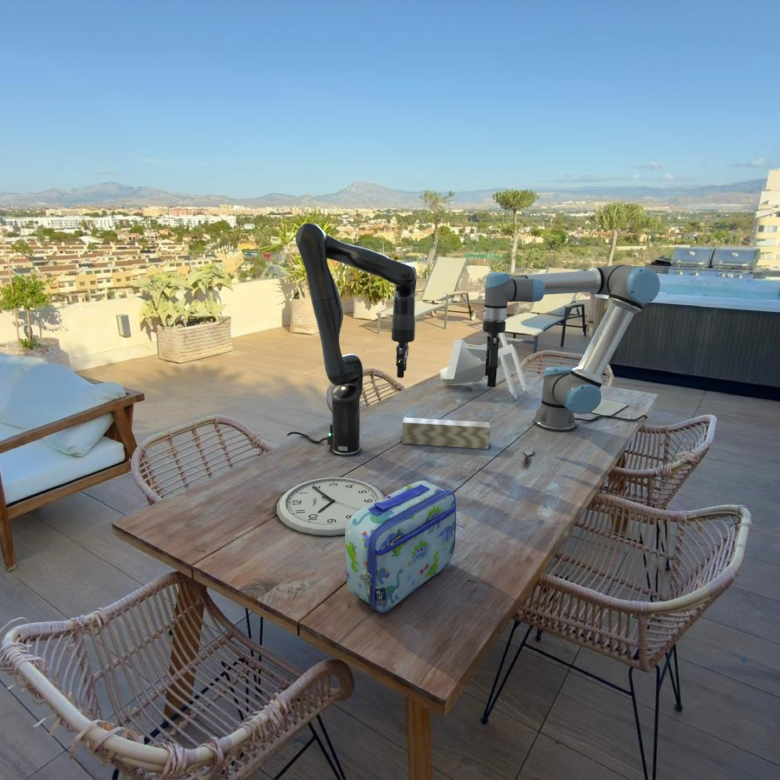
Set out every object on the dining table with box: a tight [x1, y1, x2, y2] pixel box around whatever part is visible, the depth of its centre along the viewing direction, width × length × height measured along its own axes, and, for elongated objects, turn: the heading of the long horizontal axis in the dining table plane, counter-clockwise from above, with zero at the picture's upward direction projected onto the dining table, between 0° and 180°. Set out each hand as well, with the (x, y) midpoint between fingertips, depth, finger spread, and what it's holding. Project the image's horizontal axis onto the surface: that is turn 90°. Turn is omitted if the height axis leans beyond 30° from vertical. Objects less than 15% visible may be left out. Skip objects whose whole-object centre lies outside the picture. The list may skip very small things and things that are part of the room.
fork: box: [523, 444, 534, 468], centre depth 173 cm, size 3×16×2 cm, turn 160°
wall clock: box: [276, 476, 386, 537], centre depth 142 cm, size 30×2×30 cm
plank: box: [401, 417, 491, 450], centre depth 184 cm, size 30×5×8 cm, turn 83°
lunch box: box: [344, 480, 457, 614], centre depth 109 cm, size 26×11×21 cm, turn 135°
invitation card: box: [591, 398, 629, 416], centre depth 226 cm, size 21×1×15 cm
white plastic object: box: [438, 332, 531, 400], centre depth 245 cm, size 37×45×31 cm
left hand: (401, 373), depth 175 cm, fingers open, 8 cm apart
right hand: (489, 381), depth 181 cm, fingers open, 13 cm apart
